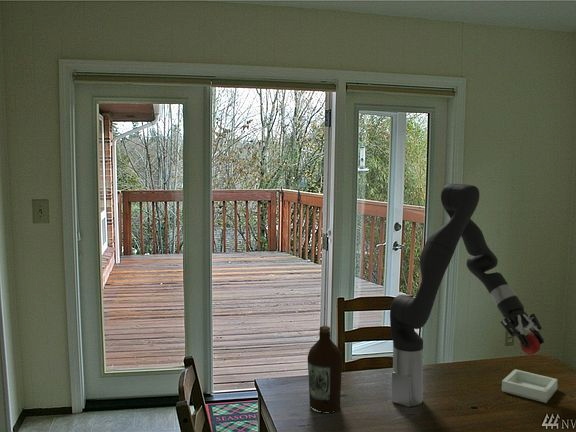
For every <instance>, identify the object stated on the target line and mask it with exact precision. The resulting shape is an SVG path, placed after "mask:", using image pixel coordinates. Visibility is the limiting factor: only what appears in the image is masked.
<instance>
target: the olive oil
mask: <svg viewBox="0 0 576 432" xmlns="http://www.w3.org/2000/svg"><path fill="white" fill-rule="evenodd" d="M318 335H319V339H318V340H317V341H316V342H315V343H314V344H313V345H312V346H311V348H310V349H309V350H308V354H307V369H308V370H307V371H308V372H307V374H308V391H309V392H308V393H309V395H308V396H309V407H310V406H311V407H312V408H314V409H316V410H318V411H321V412H333V411H336V410H338V409H339V408H340V409H341V395H342V392H341V390H342V373H343V372H342V371H343V356H342V352H341V350H340V348H339V347H338V346H337V345H336V344H335V343H334V342H333V341H332V339H331V327H330V326H328V325H327V326H326V325H322V326H320V327H319V333H318ZM340 409H339V410H340ZM339 410H338V411H339ZM336 412H337V411H336ZM333 413H334V412H333Z"/></svg>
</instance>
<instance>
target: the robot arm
mask: <svg viewBox="0 0 576 432" xmlns="http://www.w3.org/2000/svg"><path fill="white" fill-rule="evenodd" d="M479 201H480V189H479V188H478V187H477V186H475V185H472V184H465V183H463V184H462V183H448V184H446V185H445V186H444V187H443V188H442V191H441V194H440V202H441V204H442V207H443V208H444V211H445V212H446V213H447V215H448V216H449V218H450V219H449V220H447V222H446V223H444V225H442V226H441V227H439V228H438V229H437V230H436V231H434V232H433V233H432V234H431V235H430V236H429V237H428V238H427V239H426V241H425V244H424V246H423V248H422V251H421V253H420V256H419V270H420V284H419V287H418V290H417V292H416V294H415V297H413V296H410V295H405V294H399V295H397V296H395V297H394V299H392V301H391V304H390V308H389V324H390V325H389V326H390V328H389V329H390V338H391V340H392V346H393V347H392V348H393V349H392V373H391V402H392V403H395V404H398V405H402V406H404V407H407V408H411V407H416V406H419V405H421V404H422V403H423V398H424V397H423V391H424V390H423V388H424V387H423V385H424V383H423V381H424V379H423V376H424V373H423V372H424V339H423V338H422V337H421V336H420V335H419V334H418V333H417V332H416V330H419V329H423V327H424V326H425V325H426V323H427V322H428V320H429V319H430V315H431V312H432V310H433V306H434V304H435V301H436V297H437V294H438V292H439V290H440V289H439V288H440V285H441V283H442V282H443V278H444V275H446V271H447V269H448V267H449V265H450V263H451V260H452V258H453V257H454V254H455V250H456V249H457V246H458V244H459V241H460V239H462V241H463V244H464V247H465V249H466V252H467V254H469V255H470V257H468V258H467V260H466V267H467V269H468V271H470V273H471V274H473V276H475V278H477V279H478V280H479V281H480V282H481V283H482V284H483V286H485V287H484V288H486V290H487V292H488V294H489V295H490V296H491V298H492V301H493V303H494V304H495V306H496V308H497V309H498V311H499V312H500V314H501V315H502V317H503V319H502V320H501V321H500V324H501V325H502V326H503V327H504V329H505V330H506V331H507V333H508V334H509V335H510V336H511V337H516V338H518V340H519V341H520V343H522V345H523V346H524V347H528V346H530V342H529V341H528V339H527V338H526V335H525V334H524V330H525V331H528V332H529V333H530V332H532V334H533V335H534V336H535V337H536V338H537V339H538V340H539V343H540V346H541V345H543V344H544V343H545V340H544V337H542V335H541V333H540V331H541V330H542V329H543V328H542V326H541V324H540V321H539V320H538V318H537V316H536V314H535V313H531V314H528V313H526V311H525V309H524V308H525V306H524V305H523V302H521V300H520V298H519V297H518V295H517V294H516V292H515V291H514V290H513V288H512V287H511V286H510V284H509V283H508V282H507V280H506V279H505V277H504V276H503V274H502V273H501V272H497V271H496V272H492V273H487V272H489V271H490V270H493V269H494V268H496V267H497V266H498V263H499V260H498V257H497V256H496V255H495V253H494V252H493V251H492V250H491V249H490V248H489V245H487V242H486V238H485V237H484V234H483V231H482V229H481V228H480V227H479V226H478V225H477V224H476V222H475V221H473V219H471V218H472V216H473V215H474V212H475V211H476V209H477V207H478V204H479ZM523 329H524V330H523Z"/></svg>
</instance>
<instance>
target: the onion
mask: <svg viewBox="0 0 576 432" xmlns="http://www.w3.org/2000/svg"><path fill="white" fill-rule="evenodd" d="M525 336H526V338H527V339H528V341H529V342H530V346H528V347H524V346H523V345H522V343H521V342H520V344H519V345H520V348H521V350H522V351H523V352H524V353H525V354H526V355H528V356H529V357H533V356H534V355H535V354H537V353H538V352H539V351H540V349H541V345H540V343H539V340H538V339H537V338H536V337H535V336H534V335H533V334H532V332H529V333H528V334H526V335H525Z"/></svg>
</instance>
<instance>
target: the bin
mask: <svg viewBox="0 0 576 432" xmlns="http://www.w3.org/2000/svg"><path fill="white" fill-rule="evenodd" d="M556 391H558V378H553V377H550V376H546V375H541V374H537V373H532V372H528V371H524V370H520V369H516V368H515V369H513V370H512V371H511V372H510V373H509V374H508V375H507V376H505V378H503V379H502V380H501V392H504V393H506V394H511V395H514V396H519V397H522V398H526V399H528V400H529V399H530V400H533V401H536V402H537V401H538V402H541V403H544V404H547V403H548V402H549V400H550V399H551V398H552V397H553V396H554V394H555V393H556Z"/></svg>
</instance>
